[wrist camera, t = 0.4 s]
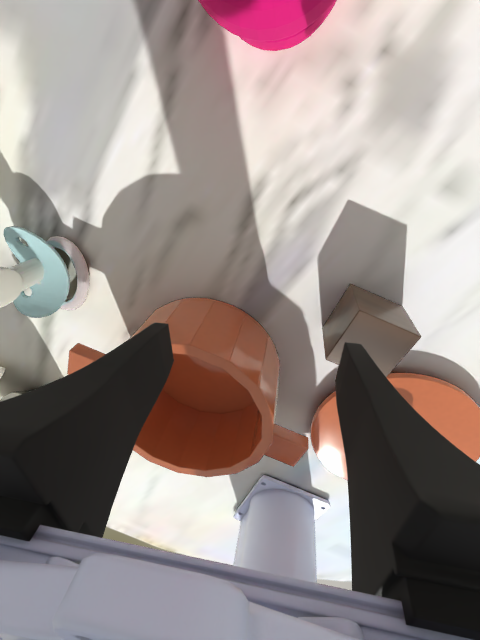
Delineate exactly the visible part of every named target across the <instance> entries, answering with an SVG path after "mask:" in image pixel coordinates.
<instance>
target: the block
mask: <svg viewBox="0 0 480 640" xmlns="http://www.w3.org/2000/svg"><path fill="white" fill-rule="evenodd" d="M322 329H323V339H324V348H325V358H326V360H328V361H331V362H333V363H335V364H338V365H339V364H340V360H341V356H342V352H343V348H344V344H345V342H348V343H357V344H362V346H363V347H364V348H365V350H366V351H367V352H368V354H369V355H370V356H371V358H372V359H373V361H374V362H375V363H376V365H377V366H378V367H379V369H380V370H381V371H382V373H383V374H384V375H385V376H386V377H387V376H388V375H389V374H390V372H391V371H392V370H393V369H394V368H395V367H396V366H397V364H398V363H399V362H400V361H401V360H402V359H403V357H404V356H405V355H406V354H407V353H408V352H409V351H410V349H411V348H412V347H413V346H414V345H415V344H416V342H417V341H418V340H419V339H420V338H421V335H420V334H419V332H418V331H417V329H416V327H415V326H414V324H413V322H412V321H411V319H410V318H409V316H408V314H407V313H406V311H405V309H404V308H403V306H401V305H399V304H396V303H394V302H392V301H389V300H387V299H385V298H382V297H380V296H378V295H375V294H373V293H371V292H369V291H366V290H364V289H362V288H359V287H357V286H355V285H352V284H350V285H349V287H348V288H347V290H346V291H345V293H344V295H343V296H342V298H341V299H340V301H339V302H338V304H337V306H336V307H335V309H334V310H333V312H332V314H331V315H330V317H329V318H328V320H327V321H326V323H325V325H324V326H323V328H322Z"/></svg>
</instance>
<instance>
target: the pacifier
mask: <svg viewBox="0 0 480 640" xmlns="http://www.w3.org/2000/svg"><path fill="white" fill-rule="evenodd" d="M4 237H5V240H6V242H7V244H8V246H9V248H10V249H11V251H12V252H13V253H14V255H15V256H16V258H17V259H18V260H19V262H20V264H17V265H15V266H13V267H11V268H6V267H0V308H1V307H4V306H7V305H8V304H10V303H12V302H13V303H14V305H15V307H16V308H17V310H19V311H20V312H21V313H22V314H24V315H26V316H29V317H34V318H40V317H45V316H49V315H51V314H53V313H54V312H56V311H57V310H58V309H59V308H62V309H65V310H74V309H77V308H78V307H80V306H81V305H82V304H83V303H84V301H85V300H86V297H87V294H88V291H89V272H88V268H87V264H86V262H85V259H84V257H83V255H82V253H81V252H80V250H79V249H78V247H77V246H76V245H75V244H73V243H72V242H71V241H70V240H68V239H66V238H64V237H59V236H54V237H50V238H49V239H48V240H46V241H45V240H44V239H42V238H41V237H39V236H38V235H36V234H34V233H33V232H30V231H28V230H26V229H24V228H21V227H17V226H11V227H7V228H5V229H4ZM19 237H20V238H22V239H24V240H25V241H26V242H27V243H28V245H29V246H26V245H24V244H23V243H22V242H21V241H20V240H19ZM54 248H59V249H61V250H63V251H64V252H65V253H66V254H67V255H68V256H69V257H70V259H71V260H72V262H73V265H74V267H75V270H76V274H77V290H76V292H75V295H74V296H73V298H72V299H66V298H67V296H68V293H69V288H70V278H69V273H68V270H67V267H66V264H65V263H64V261H63V259H62V257H61V256H60V255H59V253H58V252H57V251H56V250H55V249H54ZM27 288H30V289H31V290H32V295H31V296H26V295H25V293H24V290H26V289H27Z"/></svg>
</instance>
